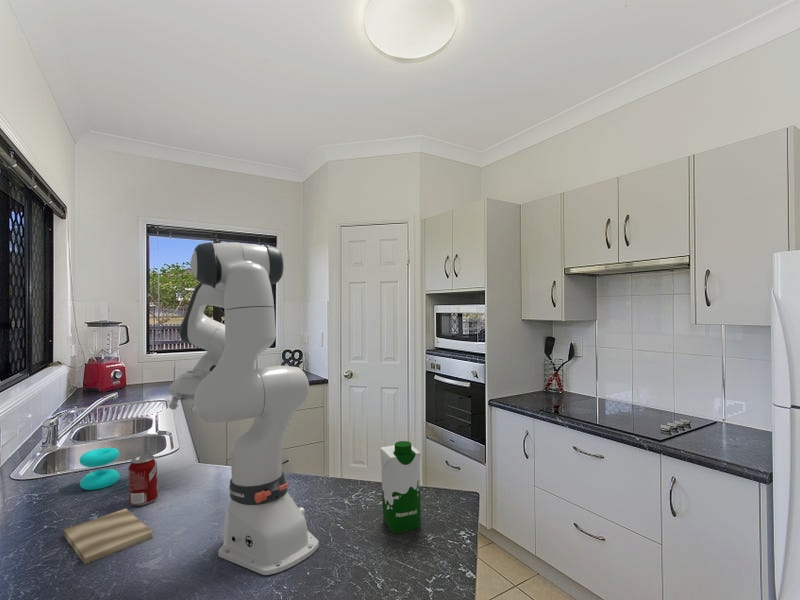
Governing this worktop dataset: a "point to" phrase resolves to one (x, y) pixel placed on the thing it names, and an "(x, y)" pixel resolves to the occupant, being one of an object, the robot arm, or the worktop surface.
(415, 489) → the milk carton
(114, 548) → the cutting board
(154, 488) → the soda can
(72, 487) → the worktop surface
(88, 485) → the donuts
